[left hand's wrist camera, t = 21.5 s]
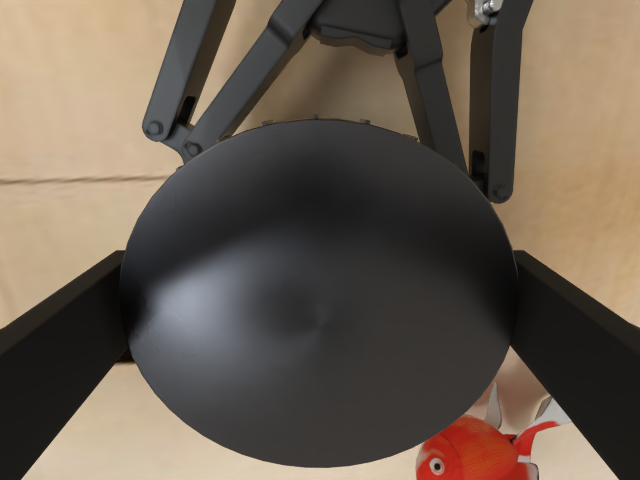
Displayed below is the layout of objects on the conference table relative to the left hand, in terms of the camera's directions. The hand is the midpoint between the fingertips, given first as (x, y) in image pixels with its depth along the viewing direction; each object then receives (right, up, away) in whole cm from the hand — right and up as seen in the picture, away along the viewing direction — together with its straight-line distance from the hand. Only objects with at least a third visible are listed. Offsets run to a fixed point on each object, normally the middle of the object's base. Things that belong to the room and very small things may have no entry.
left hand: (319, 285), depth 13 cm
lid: (0, -1, -2) cm, 2 cm away
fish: (+15, -12, +19) cm, 27 cm away
